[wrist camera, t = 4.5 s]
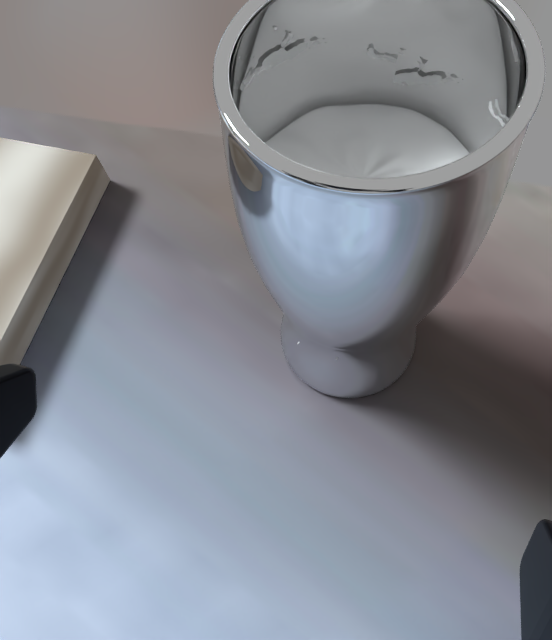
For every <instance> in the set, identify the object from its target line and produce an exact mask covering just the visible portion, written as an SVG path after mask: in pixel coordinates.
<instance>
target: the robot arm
mask: <svg viewBox="0 0 552 640" xmlns="http://www.w3.org/2000/svg"><path fill="white" fill-rule="evenodd" d="M36 408H37V395H36V375H35V373H34V371H33V370H32V369H31V368H28V367H25V366H22V365H18V364H14V363H10V364H4V365H0V458H1V457H2V456H3V454H4V453H5V452H6V451H7V449H8V448H9V447H10V446H11V445H12V443H13V442H14V441H15V440H16V438H17V437H18V436H19V435H20V434H21V432H22V431H23V430H24V429H25V427H26V426H27V425H28V424H29V422H30V421H31V420H32V418H33V417H34V415H35V412H36ZM520 602H521V637H522V640H552V521H550V520H547V519H544V520H541V521H540V522H539V523H538V524H537V526H536V528H535V530H534V532H533V534H532V536H531V539H530V541H529V543H528V545H527V548H526V550H525V552H524V554H523V557H522V560H521V564H520Z"/></svg>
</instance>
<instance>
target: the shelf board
mask: <svg viewBox="0 0 552 640" xmlns="http://www.w3.org/2000/svg"><path fill="white" fill-rule="evenodd" d="M109 182H110V178H109V177H108V175H107V173H106V172H105V170H104V168H103V166H102V165H101V163H100V161H99V160H98V158H97V156H96V155H93V154H87V153H82V152H76V151H71V150H65V149H60V148H54V147H49V146H43V145H38V144H33V143H27V142H22V141H16V140H11V139H5V138H0V365H4V364H10V363H14V364H18V365H20V363H21V361H22V359H23V357H24V355H25V353H26V351H27V349H28V347H29V345H30V343H31V341H32V339H33V337H34V335H35V333H36V331H37V329H38V327H39V325H40V322H41V320H42V318H43V316H44V314H45V312H46V310H47V308H48V306H49V304H50V302H51V300H52V298H53V296H54V294H55V292H56V290H57V288H58V286H59V284H60V282H61V280H62V278H63V276H64V274H65V271H66V269H67V267H68V265H69V263H70V261H71V259H72V257H73V255H74V253H75V251H76V249H77V247H78V245H79V243H80V241H81V239H82V237H83V235H84V233H85V231H86V229H87V227H88V225H89V222H90V220H91V218H92V216H93V214H94V212H95V210H96V208H97V206H98V204H99V202H100V200H101V198H102V196H103V194H104V192H105V190H106V188H107V186H108V184H109Z"/></svg>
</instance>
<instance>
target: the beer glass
mask: <svg viewBox="0 0 552 640" xmlns="http://www.w3.org/2000/svg"><path fill="white" fill-rule="evenodd" d="M544 82H545V57H544V52H543V48H542V44H541V41H540V38H539V36H538V34H537V31H536V29H535V27H534V25H533V23H532V22H531V20H530V19H529V17H528V16H527V14H526V13H525V11H524V10H523V9H522V8H521V7H520V6H519V4H518V3H517V2H516V1H515V0H249V1H248V2H247V3H246V4H245V5H244V6H243V7H242V8H241V9H240V10H239V11H238V13H237V14H236V15H235V16H234V18H233V19H232V21H231V22H230V23H229V25H228V27H227V28H226V30H225V32H224V34H223V36H222V38H221V40H220V42H219V45H218V48H217V51H216V55H215V59H214V66H213V89H214V94H215V99H216V102H217V106H218V109H219V115H220V121H221V129H222V137H223V145H224V153H225V159H226V166H227V172H228V179H229V185H230V190H231V194H232V199H233V203H234V208H235V212H236V217H237V221H238V224H239V227H240V230H241V233H242V236H243V239H244V242H245V245H246V248H247V251H248V254H249V256H250V258H251V260H252V262H253V264H254V266H255V268H256V270H257V272H258V274H259V276H260V278H261V280H262V281H263V283H264V285H265V287H266V288H267V290H268V291H269V293H270V294H271V296H272V297H273V299H274V300H275V302H276V303H277V305H278V306H279V308H280V309H281V311H282V312H283V317H282V322H281V344H282V349H283V352H284V355H285V358H286V360H287V362H288V364H289V366H290V367H291V369H292V370H293V371H294V373H295V374H296V375H297V376H298V377H299V378H300V379H301V380H302V381H303V382H305V383H306V384H307V385H309V386H310V387H312V388H313V389H315V390H317V391H319V392H321V393H324V394H327V395H330V396H334V397H340V398H358V397H364V396H368V395H371V394H374V393H377V392H379V391H381V390H383V389H385V388H387V387H388V386H390V385H391V384H392V383H394V382H395V381H396V380H397V379H398V378H399V377H400V376H401V375H402V374H403V372H404V371H405V369H406V368H407V366H408V364H409V363H410V360H411V358H412V355H413V352H414V348H415V343H416V325H417V324H418V323H419V322H420V321H421V320H423V319H424V318H425V317H426V316H427V315H428V314H429V313H430V312H431V311H432V310H433V309H434V308H435V307H436V306H437V305H438V304H439V303H440V302H441V301H442V300H443V298H444V297H445V296H446V295H447V294H448V292H449V291H450V290H451V289H452V288H453V286H454V285H455V284H456V283H457V281H458V280H459V279H460V278H461V276H462V275H463V274H464V272H465V271H466V269H467V268H468V266H469V264H470V263H471V261H472V259H473V257H474V256H475V254H476V252H477V251H478V249H479V247H480V245H481V244H482V242H483V240H484V238H485V236H486V234H487V232H488V230H489V228H490V225H491V223H492V221H493V219H494V217H495V214H496V212H497V210H498V208H499V205H500V203H501V201H502V198H503V196H504V193H505V190H506V187H507V185H508V182H509V179H510V177H511V174H512V171H513V168H514V166H515V162H516V160H517V157H518V154H519V151H520V148H521V145H522V142H523V139H524V136H525V134H526V131H527V128H528V125H529V122H530V121H531V119H532V117H533V116H534V114H535V112H536V110H537V107H538V105H539V102H540V99H541V96H542V93H543V88H544Z"/></svg>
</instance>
